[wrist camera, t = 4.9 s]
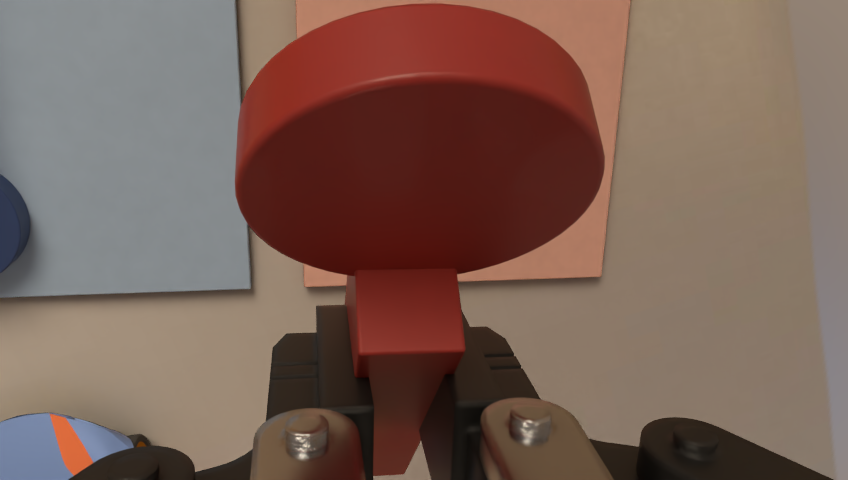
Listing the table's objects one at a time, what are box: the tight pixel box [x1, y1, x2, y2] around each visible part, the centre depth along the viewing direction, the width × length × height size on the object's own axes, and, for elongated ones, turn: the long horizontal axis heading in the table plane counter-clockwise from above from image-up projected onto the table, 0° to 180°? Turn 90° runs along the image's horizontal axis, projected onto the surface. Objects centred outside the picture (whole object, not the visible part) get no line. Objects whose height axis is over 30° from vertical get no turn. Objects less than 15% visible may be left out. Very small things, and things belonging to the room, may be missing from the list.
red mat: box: [296, 0, 631, 287], centre depth 27 cm, size 13×12×1 cm
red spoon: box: [235, 3, 605, 476], centre depth 11 cm, size 11×4×2 cm
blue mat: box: [0, 0, 251, 298], centre depth 25 cm, size 13×12×1 cm
